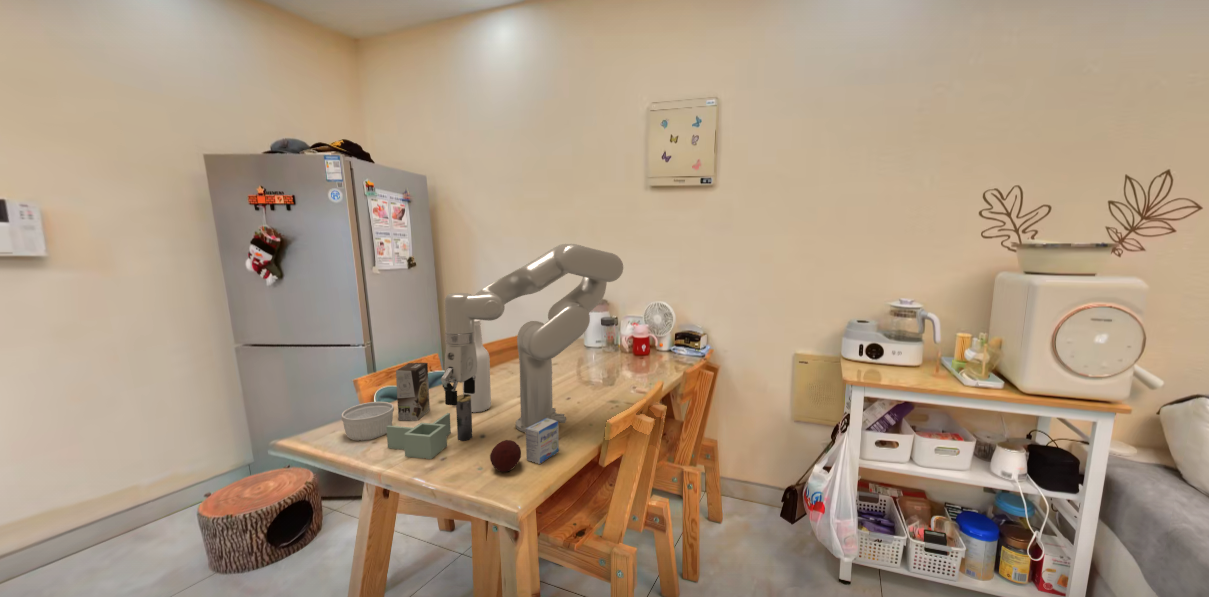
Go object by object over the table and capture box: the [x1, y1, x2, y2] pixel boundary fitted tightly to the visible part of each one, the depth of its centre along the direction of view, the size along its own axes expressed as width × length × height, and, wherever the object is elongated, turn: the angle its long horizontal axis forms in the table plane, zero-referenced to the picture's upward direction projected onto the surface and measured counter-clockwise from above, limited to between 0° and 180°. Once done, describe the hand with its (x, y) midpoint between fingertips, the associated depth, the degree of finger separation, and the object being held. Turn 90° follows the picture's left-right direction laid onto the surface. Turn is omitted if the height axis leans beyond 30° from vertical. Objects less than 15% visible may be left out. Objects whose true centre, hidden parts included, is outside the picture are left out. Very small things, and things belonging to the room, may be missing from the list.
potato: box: [489, 439, 522, 473], centre depth 104 cm, size 7×8×7 cm
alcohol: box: [461, 319, 492, 414], centre depth 141 cm, size 9×9×30 cm
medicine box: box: [525, 418, 559, 465], centre depth 110 cm, size 8×4×9 cm, turn 148°
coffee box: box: [395, 362, 431, 422], centre depth 136 cm, size 9×6×16 cm
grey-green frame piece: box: [386, 412, 452, 460], centre depth 117 cm, size 15×15×6 cm
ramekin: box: [340, 401, 395, 441], centre depth 124 cm, size 13×13×7 cm
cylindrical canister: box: [455, 393, 473, 442], centre depth 120 cm, size 4×4×12 cm
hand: (460, 398), depth 119 cm, fingers open, 9 cm apart
